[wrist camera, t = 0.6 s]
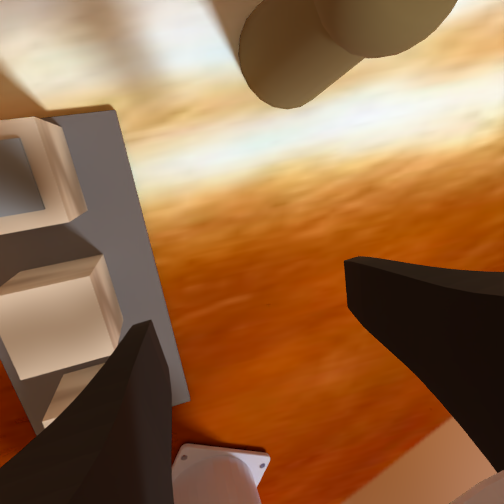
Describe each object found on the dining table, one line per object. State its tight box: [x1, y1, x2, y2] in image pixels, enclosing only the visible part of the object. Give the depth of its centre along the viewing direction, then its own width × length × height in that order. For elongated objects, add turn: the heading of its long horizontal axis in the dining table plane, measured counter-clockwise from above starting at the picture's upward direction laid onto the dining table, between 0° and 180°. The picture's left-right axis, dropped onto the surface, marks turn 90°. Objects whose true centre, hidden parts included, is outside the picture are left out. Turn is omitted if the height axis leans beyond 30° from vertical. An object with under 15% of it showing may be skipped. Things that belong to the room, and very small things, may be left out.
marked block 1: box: [0, 117, 88, 235], centre depth 15 cm, size 4×4×4 cm
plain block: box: [0, 254, 123, 380], centre depth 17 cm, size 4×4×4 cm
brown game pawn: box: [239, 0, 458, 109], centre depth 14 cm, size 6×6×11 cm
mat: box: [0, 110, 190, 436], centre depth 19 cm, size 20×10×1 cm, turn 9°
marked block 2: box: [42, 363, 105, 428], centre depth 19 cm, size 4×4×4 cm
